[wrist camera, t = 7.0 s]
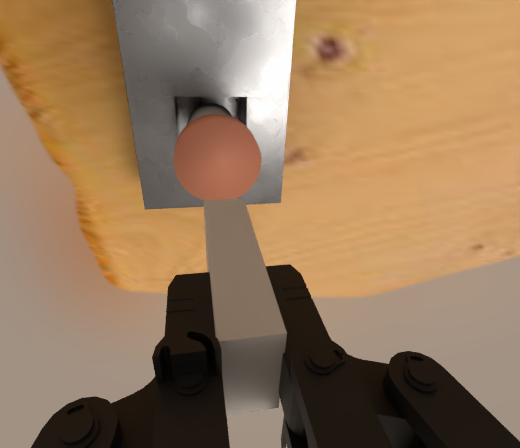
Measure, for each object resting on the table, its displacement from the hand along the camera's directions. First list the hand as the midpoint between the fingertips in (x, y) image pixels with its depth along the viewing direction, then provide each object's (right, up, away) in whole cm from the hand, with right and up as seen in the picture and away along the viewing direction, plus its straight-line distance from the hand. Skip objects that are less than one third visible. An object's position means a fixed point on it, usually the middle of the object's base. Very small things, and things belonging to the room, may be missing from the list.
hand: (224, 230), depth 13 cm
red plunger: (-2, +8, +13) cm, 15 cm away
